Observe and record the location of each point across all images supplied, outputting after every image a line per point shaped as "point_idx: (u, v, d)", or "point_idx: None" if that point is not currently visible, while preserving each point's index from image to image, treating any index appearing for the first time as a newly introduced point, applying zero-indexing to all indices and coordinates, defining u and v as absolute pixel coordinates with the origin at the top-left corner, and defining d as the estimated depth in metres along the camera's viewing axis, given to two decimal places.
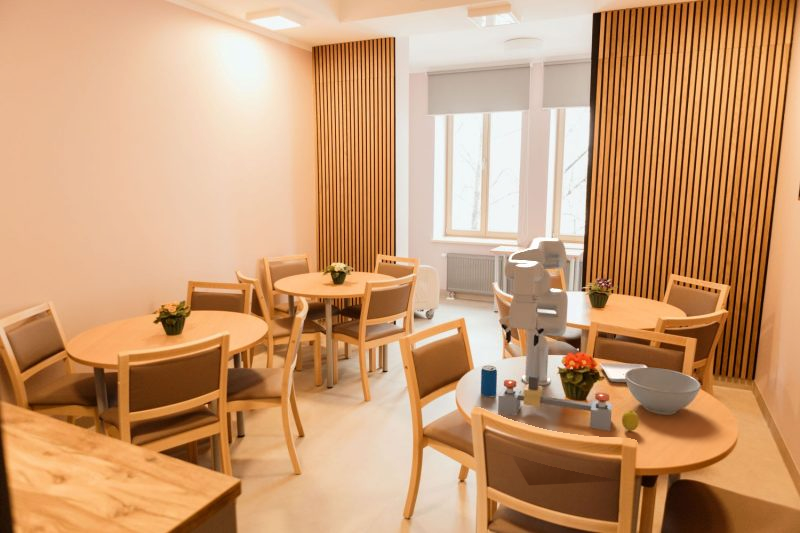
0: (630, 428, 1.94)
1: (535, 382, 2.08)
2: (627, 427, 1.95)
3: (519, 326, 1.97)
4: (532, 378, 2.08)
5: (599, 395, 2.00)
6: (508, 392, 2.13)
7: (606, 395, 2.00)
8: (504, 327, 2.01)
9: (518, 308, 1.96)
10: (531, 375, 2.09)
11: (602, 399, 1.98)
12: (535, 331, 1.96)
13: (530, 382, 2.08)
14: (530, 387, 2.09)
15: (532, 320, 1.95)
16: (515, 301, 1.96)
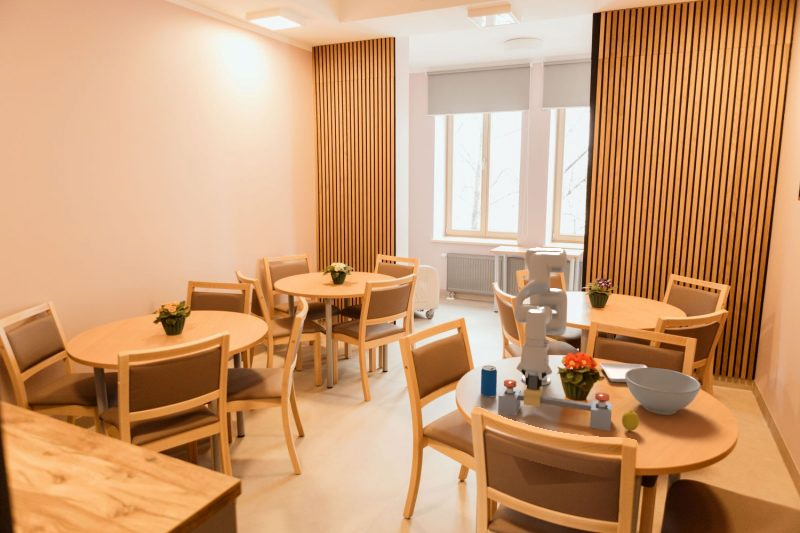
0: (630, 428, 1.94)
1: (535, 382, 2.08)
2: (627, 427, 1.95)
3: (531, 368, 2.07)
4: (532, 378, 2.08)
5: (599, 395, 2.00)
6: (508, 392, 2.13)
7: (606, 395, 2.00)
8: (524, 372, 2.10)
9: (530, 351, 2.06)
10: (531, 375, 2.09)
11: (602, 399, 1.98)
12: (540, 375, 2.07)
13: (530, 382, 2.08)
14: (530, 387, 2.09)
15: (543, 363, 2.05)
16: (527, 345, 2.05)
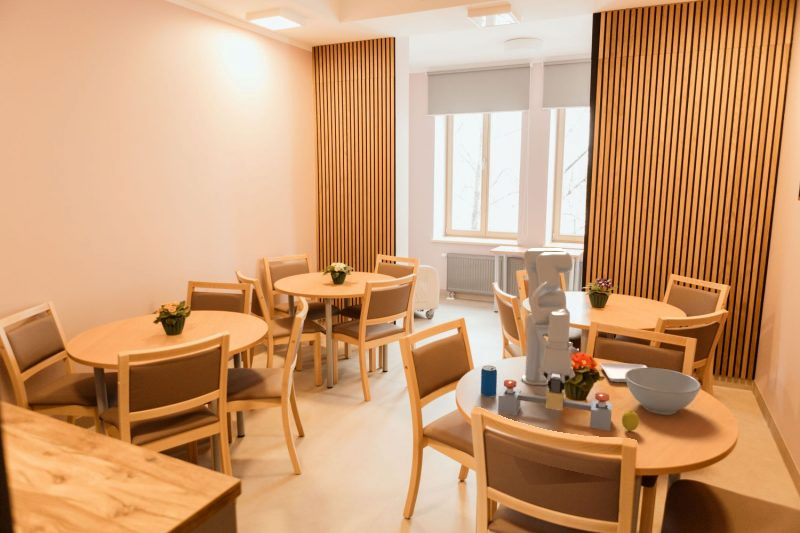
0: (630, 428, 1.94)
1: (557, 385, 2.04)
2: (627, 427, 1.95)
3: (553, 371, 2.04)
4: (555, 381, 2.05)
5: (599, 395, 2.00)
6: (508, 392, 2.13)
7: (606, 395, 2.00)
8: (546, 375, 2.07)
9: (553, 354, 2.03)
10: (553, 378, 2.06)
11: (602, 399, 1.98)
12: (563, 378, 2.04)
13: (553, 385, 2.05)
14: (553, 390, 2.05)
15: (566, 366, 2.02)
16: (550, 347, 2.02)
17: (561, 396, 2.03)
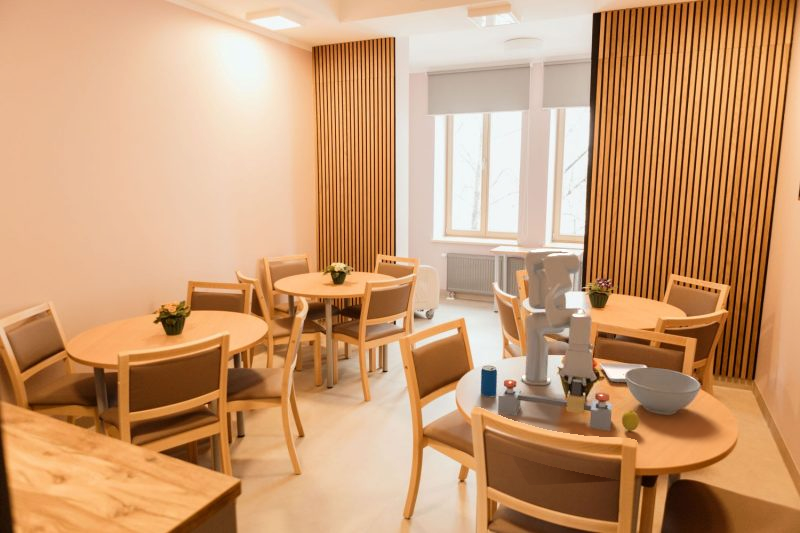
0: (630, 428, 1.94)
1: (578, 388, 2.02)
2: (627, 427, 1.95)
3: (575, 374, 2.01)
4: (576, 384, 2.02)
5: (599, 395, 2.00)
6: (508, 392, 2.13)
7: (606, 395, 2.00)
8: (567, 378, 2.04)
9: (574, 357, 2.00)
10: (574, 381, 2.03)
11: (602, 399, 1.98)
12: (584, 381, 2.01)
13: (573, 388, 2.02)
14: (573, 393, 2.03)
15: (588, 369, 1.99)
16: (571, 350, 1.99)
17: (582, 399, 2.00)
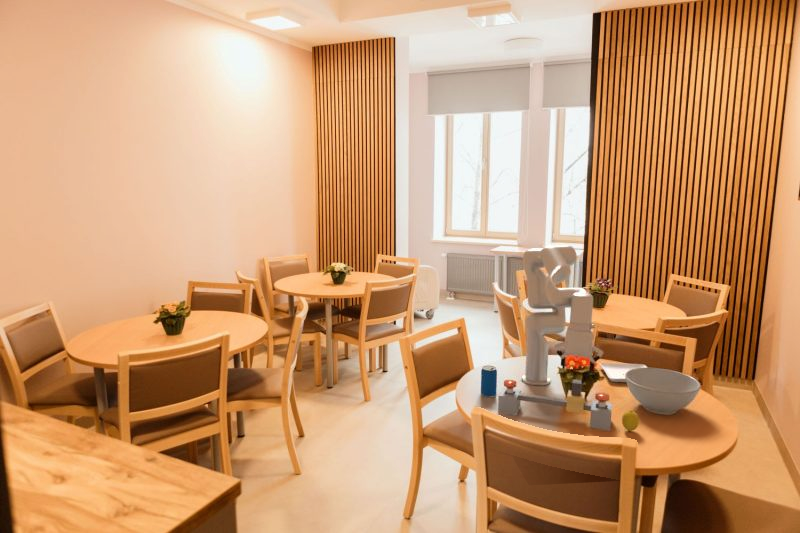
0: (630, 428, 1.94)
1: (578, 388, 2.02)
2: (627, 427, 1.95)
3: (575, 353, 2.00)
4: (575, 384, 2.02)
5: (599, 395, 2.00)
6: (508, 392, 2.13)
7: (606, 395, 2.00)
8: (559, 353, 2.04)
9: (575, 336, 1.99)
10: (574, 381, 2.03)
11: (602, 399, 1.98)
12: (591, 359, 1.99)
13: (573, 388, 2.02)
14: (573, 393, 2.03)
15: (589, 348, 1.98)
16: (572, 329, 1.98)
17: (582, 399, 2.00)
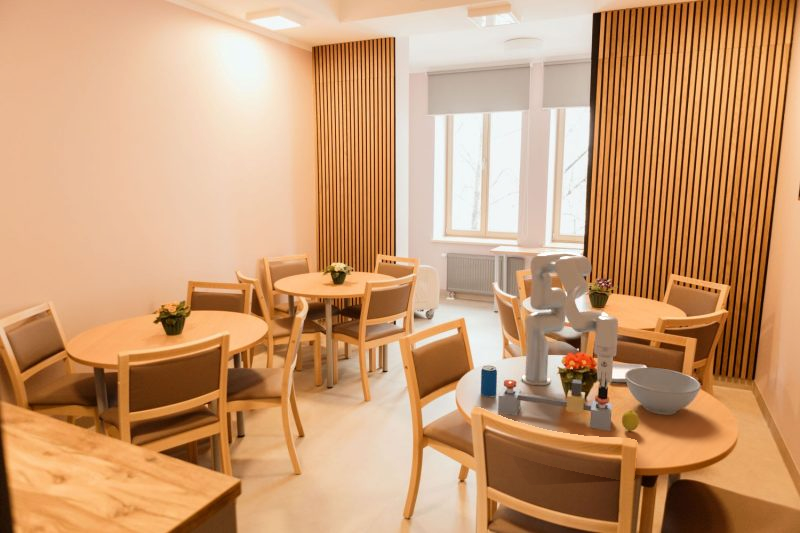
0: (630, 428, 1.94)
1: (578, 388, 2.02)
2: (627, 427, 1.95)
3: None
4: (575, 384, 2.02)
5: None
6: (508, 392, 2.13)
7: None
8: None
9: None
10: (574, 381, 2.03)
11: (602, 401, 1.98)
12: (599, 383, 1.99)
13: (573, 388, 2.02)
14: (573, 393, 2.03)
15: (597, 371, 1.96)
16: None
17: (582, 399, 2.00)
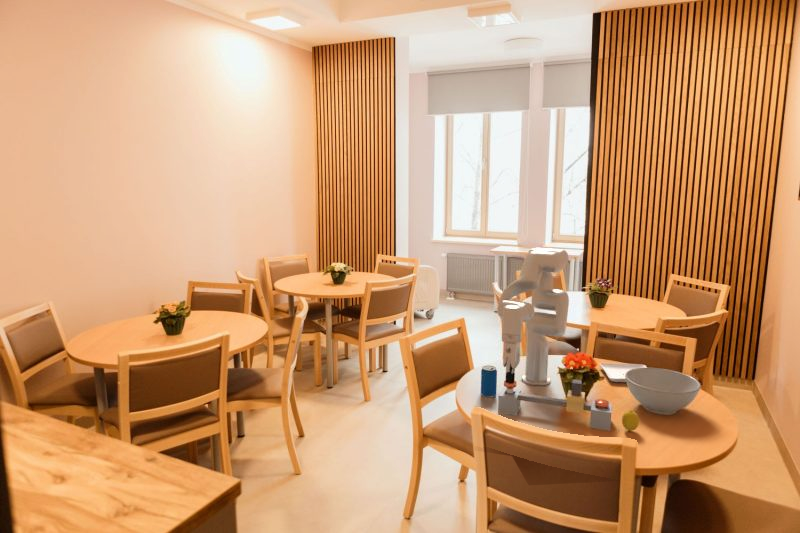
0: (630, 428, 1.94)
1: (578, 388, 2.02)
2: (627, 427, 1.95)
3: None
4: (575, 384, 2.02)
5: (599, 402, 2.01)
6: (508, 392, 2.13)
7: (606, 402, 2.00)
8: None
9: None
10: (574, 381, 2.03)
11: (602, 406, 1.99)
12: None
13: (573, 388, 2.02)
14: (573, 393, 2.03)
15: (503, 357, 2.09)
16: None
17: (582, 399, 2.00)
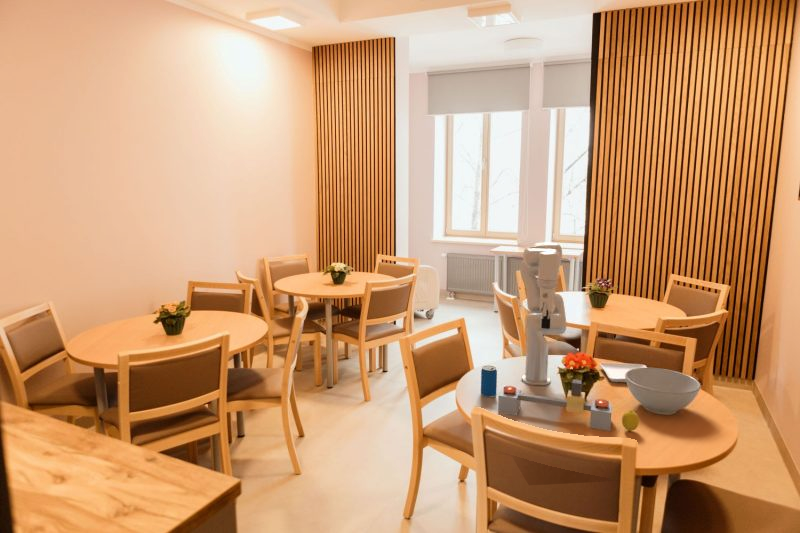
0: (630, 428, 1.94)
1: (578, 388, 2.02)
2: (627, 427, 1.95)
3: None
4: (575, 384, 2.02)
5: (599, 402, 2.01)
6: None
7: (606, 402, 2.00)
8: None
9: None
10: (574, 381, 2.03)
11: (602, 406, 1.99)
12: (542, 314, 2.16)
13: (573, 388, 2.02)
14: (573, 393, 2.03)
15: (539, 302, 2.13)
16: None
17: (582, 399, 2.00)
